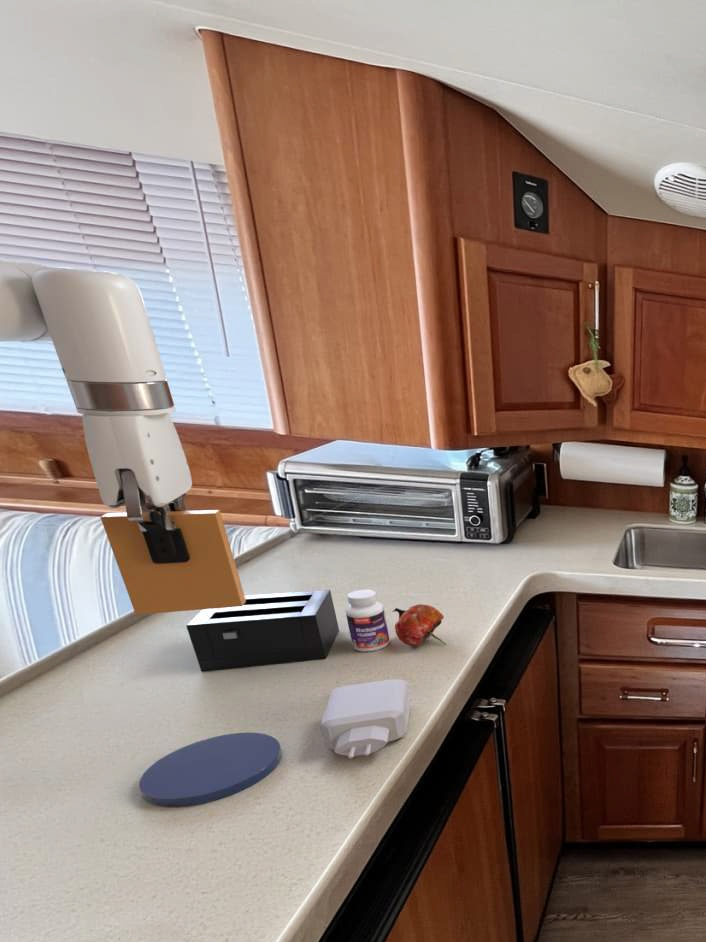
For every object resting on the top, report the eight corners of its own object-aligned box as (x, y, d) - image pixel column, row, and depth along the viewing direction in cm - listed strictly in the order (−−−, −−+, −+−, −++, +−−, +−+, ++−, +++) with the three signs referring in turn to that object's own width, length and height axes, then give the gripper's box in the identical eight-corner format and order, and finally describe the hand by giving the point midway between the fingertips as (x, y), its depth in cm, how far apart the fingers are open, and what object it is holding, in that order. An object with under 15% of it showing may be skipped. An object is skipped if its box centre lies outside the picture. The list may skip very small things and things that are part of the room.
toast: (135, 614, 75) (99, 517, 70) (141, 609, 76) (106, 513, 72) (242, 606, 79) (215, 513, 74) (246, 601, 80) (220, 509, 76)
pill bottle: (358, 655, 106) (347, 602, 103) (349, 644, 110) (337, 592, 106) (394, 646, 110) (385, 595, 106) (384, 635, 113) (374, 585, 110)
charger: (318, 780, 78) (336, 716, 91) (404, 763, 82) (411, 704, 95) (309, 748, 76) (329, 687, 89) (398, 733, 80) (406, 677, 93)
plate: (119, 817, 70) (116, 809, 70) (169, 750, 81) (166, 742, 81) (265, 793, 76) (262, 785, 75) (294, 732, 86) (292, 725, 86)
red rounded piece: (452, 644, 117) (407, 609, 115) (467, 622, 113) (421, 585, 112) (422, 666, 110) (374, 629, 109) (437, 643, 107) (387, 604, 105)
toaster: (199, 674, 97) (183, 627, 94) (226, 640, 107) (213, 597, 104) (324, 661, 104) (314, 617, 101) (339, 630, 114) (330, 589, 111)
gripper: (112, 388, 73) (162, 540, 80) (32, 406, 60) (100, 585, 67) (196, 391, 76) (237, 537, 83) (138, 408, 63) (192, 579, 70)
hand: (176, 557), depth 75 cm, fingers closed on toast, 1 cm apart
